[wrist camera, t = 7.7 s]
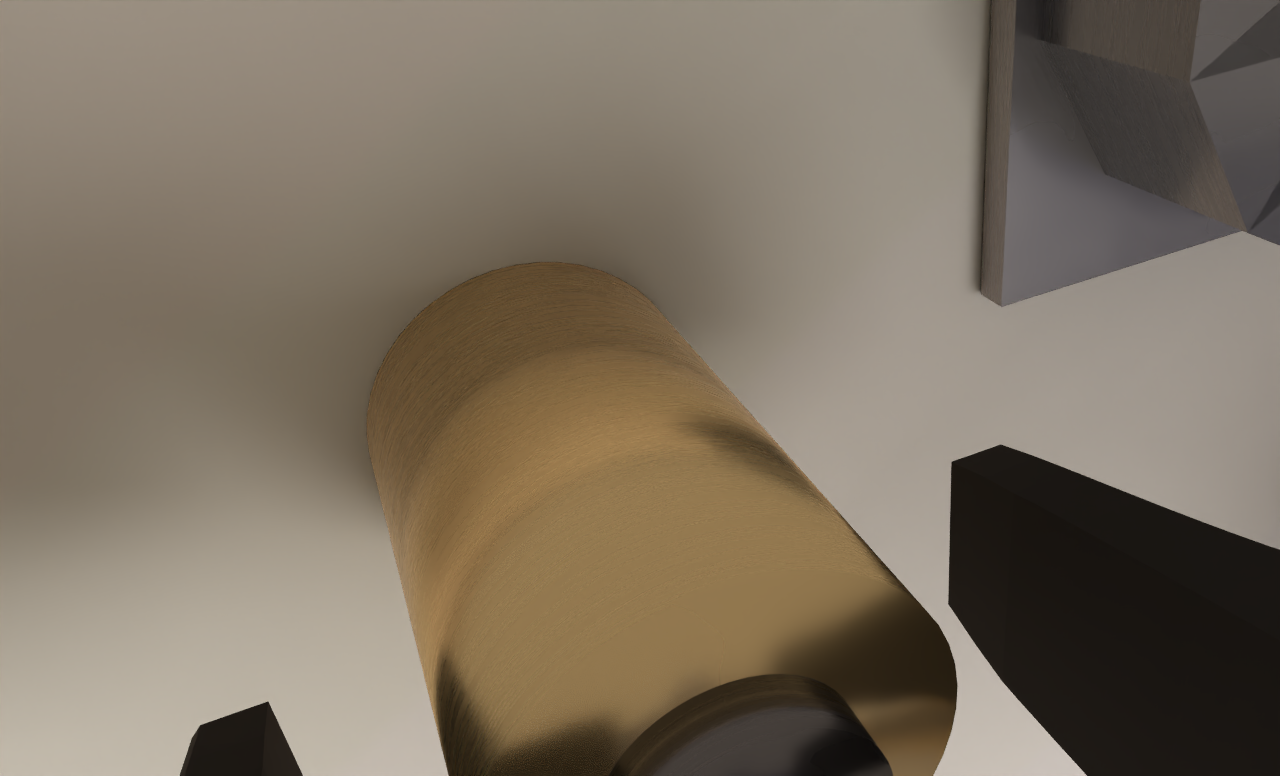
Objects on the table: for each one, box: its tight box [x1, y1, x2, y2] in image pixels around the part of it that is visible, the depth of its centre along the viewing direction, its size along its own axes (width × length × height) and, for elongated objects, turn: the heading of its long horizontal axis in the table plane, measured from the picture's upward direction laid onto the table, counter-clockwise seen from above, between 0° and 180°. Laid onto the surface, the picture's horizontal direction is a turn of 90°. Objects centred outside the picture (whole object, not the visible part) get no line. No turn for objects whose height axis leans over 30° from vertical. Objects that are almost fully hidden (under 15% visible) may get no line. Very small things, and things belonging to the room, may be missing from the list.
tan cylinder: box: [367, 262, 957, 776], centre depth 11 cm, size 4×4×7 cm
